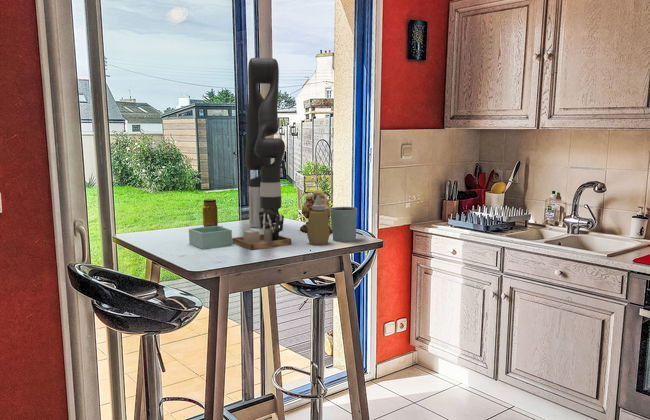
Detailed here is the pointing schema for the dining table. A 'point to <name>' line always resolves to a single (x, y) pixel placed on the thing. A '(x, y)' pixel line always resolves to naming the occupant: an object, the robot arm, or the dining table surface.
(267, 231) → the grey brown block
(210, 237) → the teal bin
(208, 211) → the condiment
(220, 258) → the dining table surface
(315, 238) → the squeeze bottle
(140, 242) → the dining table surface
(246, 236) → the beige matte cube
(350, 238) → the grey green cup
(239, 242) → the walnut tray
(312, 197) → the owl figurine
